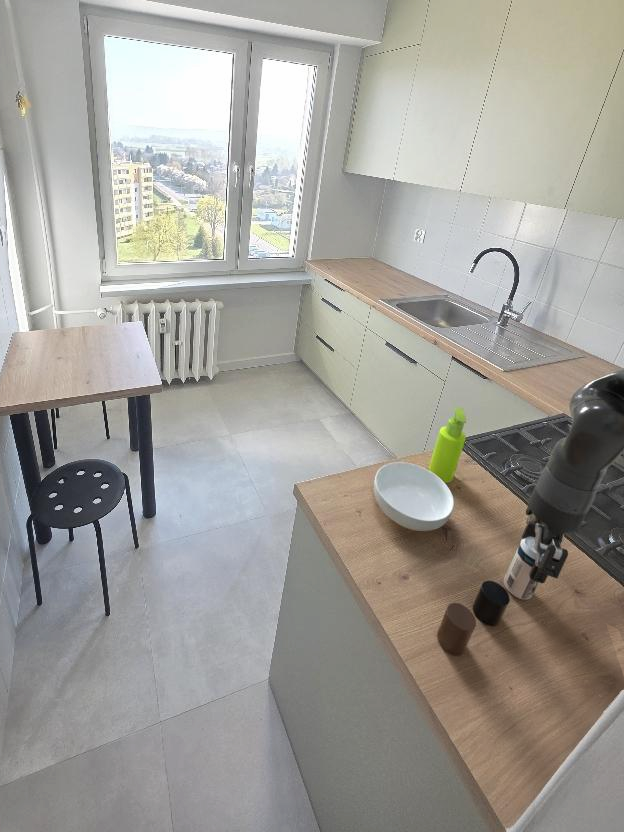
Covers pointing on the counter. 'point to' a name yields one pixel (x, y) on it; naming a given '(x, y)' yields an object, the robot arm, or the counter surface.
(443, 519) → the cereal bowl
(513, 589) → the beer can
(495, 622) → the black post
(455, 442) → the soap dispenser
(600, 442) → the robot arm
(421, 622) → the counter surface
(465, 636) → the walnut post
